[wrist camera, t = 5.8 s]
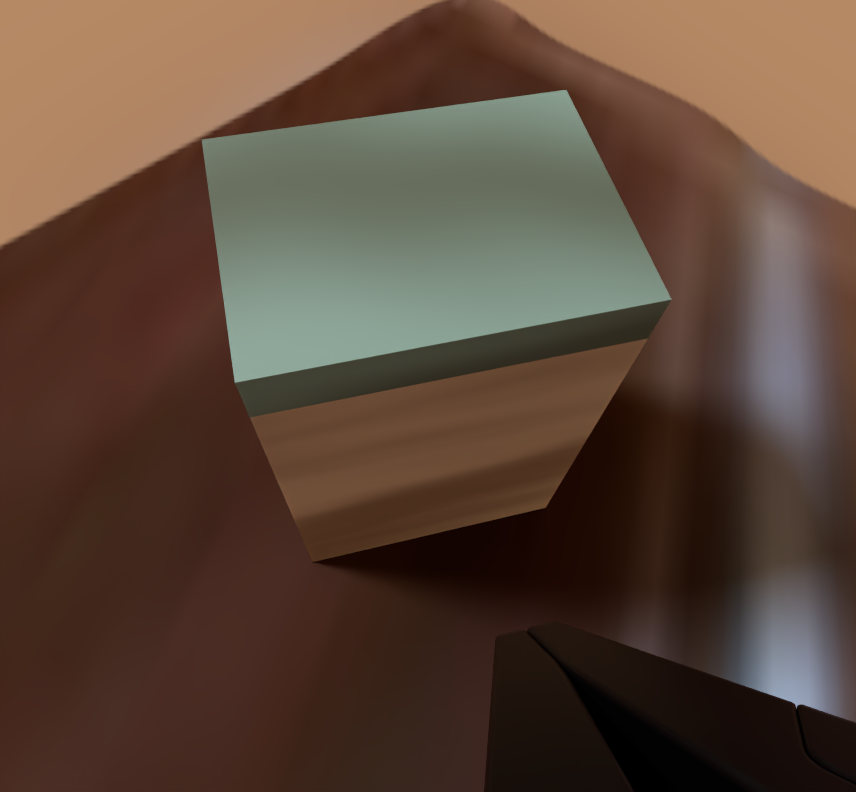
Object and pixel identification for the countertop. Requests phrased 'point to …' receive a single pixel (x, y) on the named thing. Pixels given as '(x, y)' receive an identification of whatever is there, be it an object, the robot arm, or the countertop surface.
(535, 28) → the countertop surface
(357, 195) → the birch block
